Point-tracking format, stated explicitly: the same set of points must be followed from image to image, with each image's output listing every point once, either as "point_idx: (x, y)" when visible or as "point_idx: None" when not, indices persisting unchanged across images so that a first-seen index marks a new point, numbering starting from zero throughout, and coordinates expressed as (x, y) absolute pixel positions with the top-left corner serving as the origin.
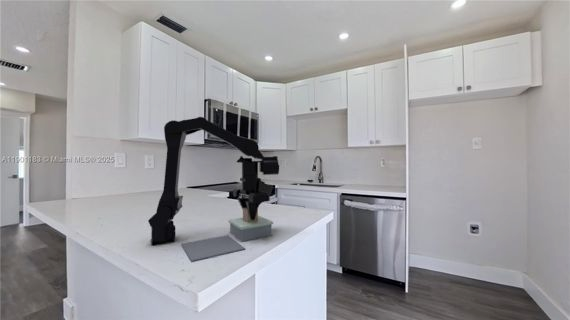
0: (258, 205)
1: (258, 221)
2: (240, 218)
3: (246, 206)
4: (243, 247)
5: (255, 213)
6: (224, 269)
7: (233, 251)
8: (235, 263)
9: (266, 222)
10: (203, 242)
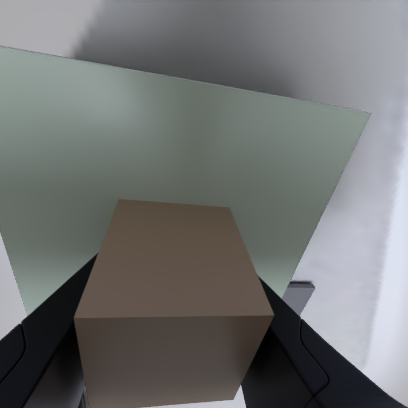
0: (388, 404)
1: (247, 212)
2: (39, 272)
3: (66, 397)
4: (306, 289)
5: (272, 300)
6: (347, 340)
7: (298, 313)
8: (349, 321)
9: (328, 179)
10: None
